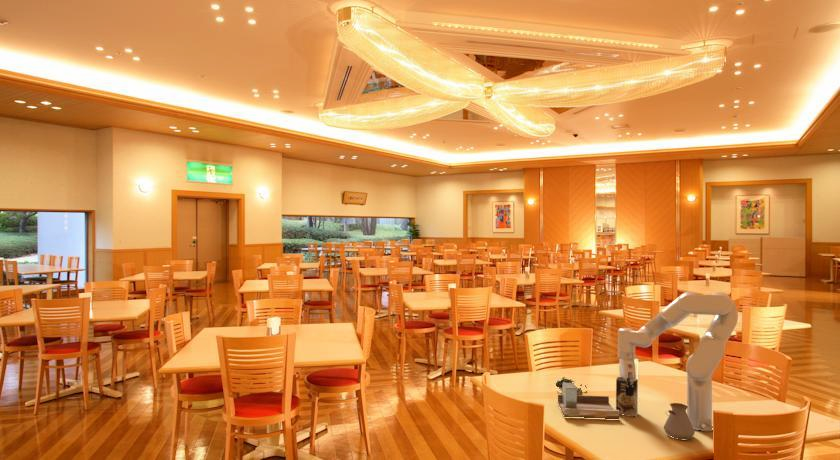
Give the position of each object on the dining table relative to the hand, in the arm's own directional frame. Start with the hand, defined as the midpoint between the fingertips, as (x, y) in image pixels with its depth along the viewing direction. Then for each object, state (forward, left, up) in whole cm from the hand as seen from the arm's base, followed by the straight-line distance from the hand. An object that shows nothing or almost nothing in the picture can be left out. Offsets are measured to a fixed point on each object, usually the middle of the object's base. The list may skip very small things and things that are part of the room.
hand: (626, 392), depth 231 cm
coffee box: (0, 0, -10) cm, 10 cm away
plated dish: (+32, +19, -11) cm, 39 cm away
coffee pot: (-28, -11, -10) cm, 32 cm away
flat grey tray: (0, +18, -10) cm, 21 cm away
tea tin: (0, +26, -8) cm, 27 cm away
